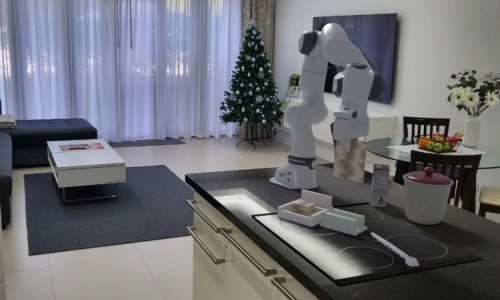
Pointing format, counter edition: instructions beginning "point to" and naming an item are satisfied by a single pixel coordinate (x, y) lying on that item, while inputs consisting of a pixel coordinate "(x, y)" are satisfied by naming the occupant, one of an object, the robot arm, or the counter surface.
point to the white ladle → (397, 251)
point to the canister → (426, 196)
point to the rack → (321, 207)
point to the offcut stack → (303, 208)
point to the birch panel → (350, 161)
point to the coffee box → (379, 185)
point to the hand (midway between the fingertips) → (350, 150)
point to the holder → (344, 222)
